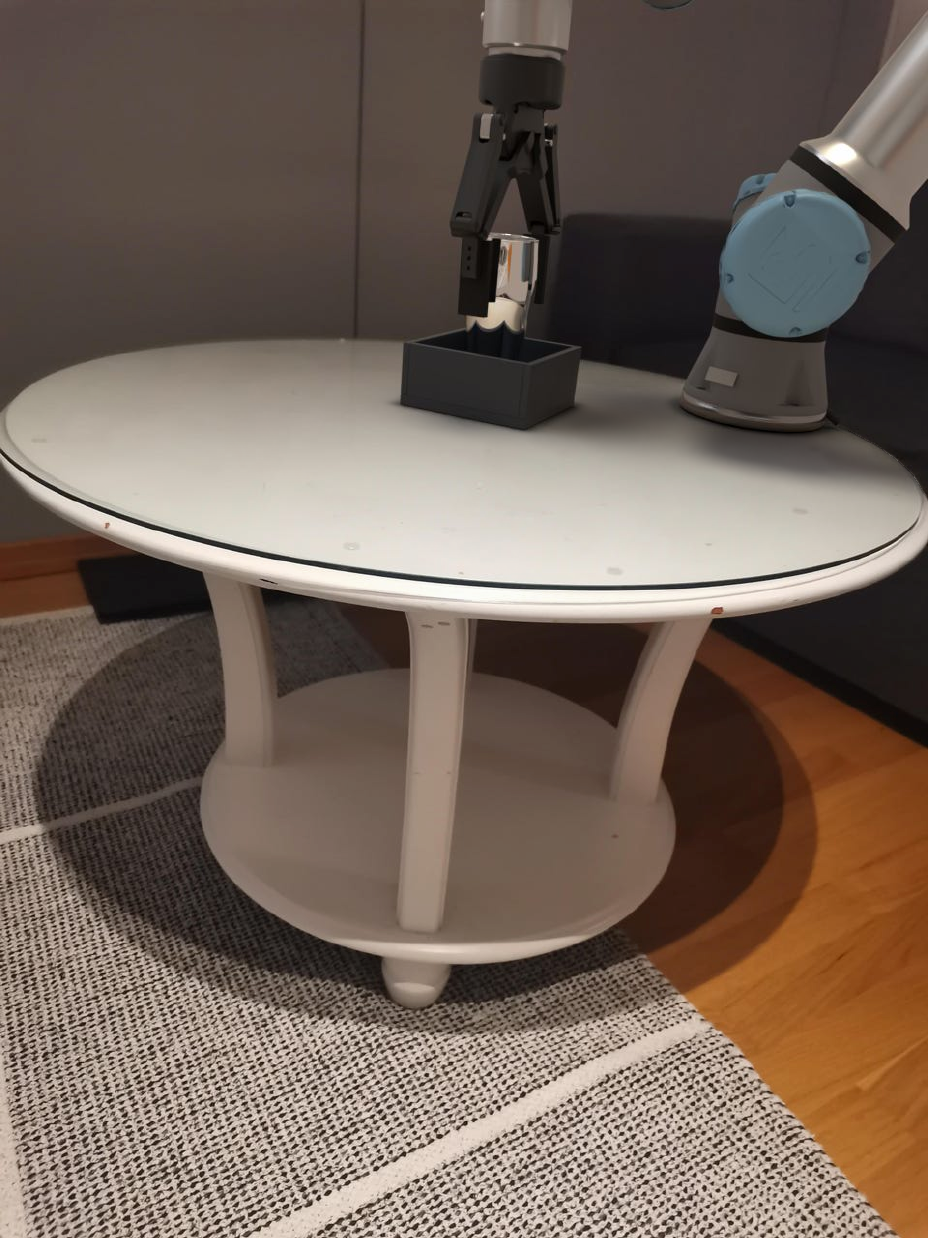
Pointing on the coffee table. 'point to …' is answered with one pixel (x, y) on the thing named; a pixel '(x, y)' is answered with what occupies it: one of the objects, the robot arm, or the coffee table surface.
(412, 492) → the coffee table surface
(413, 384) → the bin
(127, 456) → the coffee table surface
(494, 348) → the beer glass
